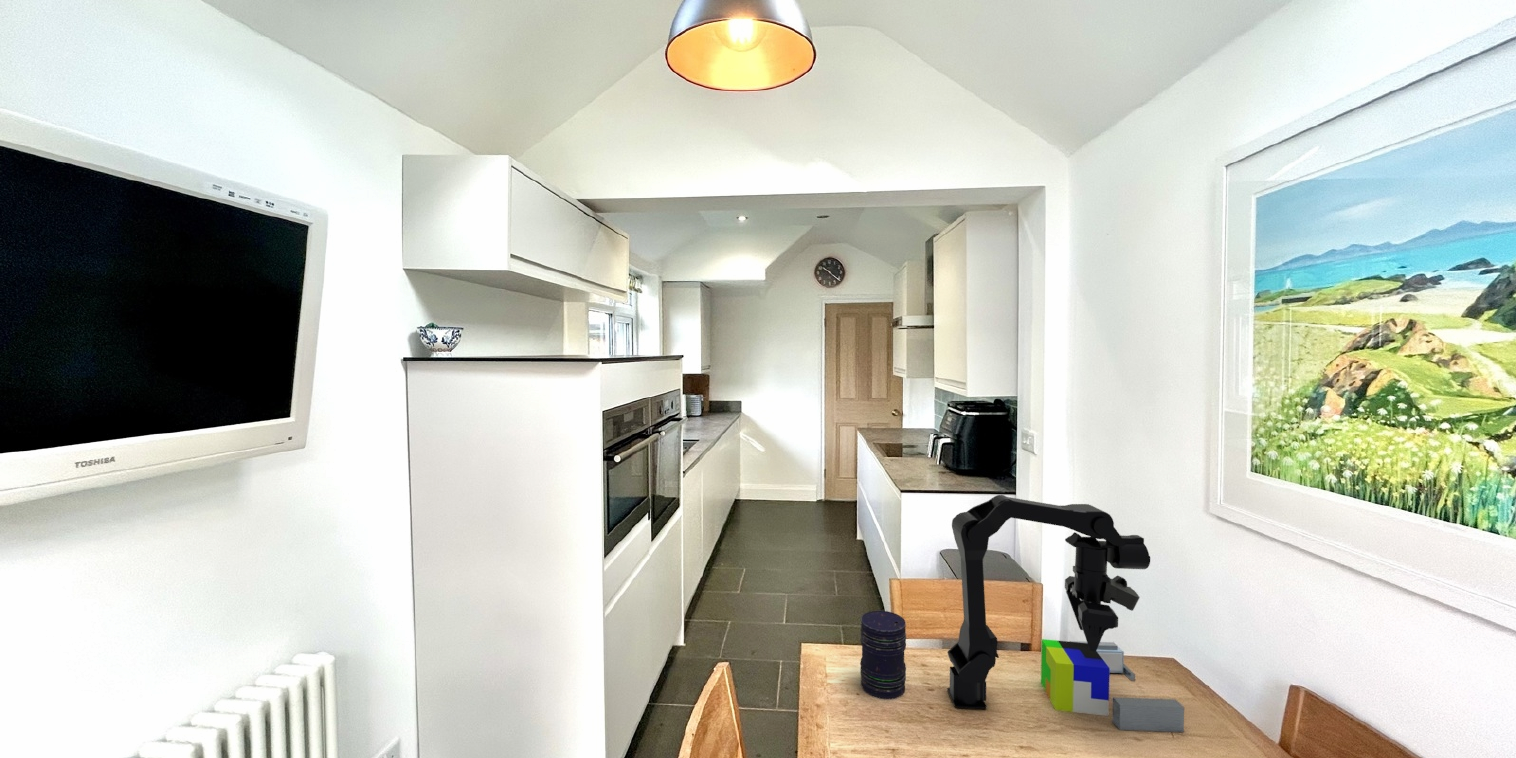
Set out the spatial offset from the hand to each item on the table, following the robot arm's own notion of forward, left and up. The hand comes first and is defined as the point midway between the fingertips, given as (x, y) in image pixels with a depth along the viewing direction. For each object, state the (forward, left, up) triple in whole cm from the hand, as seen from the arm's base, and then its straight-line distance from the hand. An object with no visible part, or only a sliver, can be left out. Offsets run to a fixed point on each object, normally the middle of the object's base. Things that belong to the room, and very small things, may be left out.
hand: (1087, 639), depth 117 cm
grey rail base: (+8, +4, -14) cm, 16 cm away
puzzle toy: (-2, +2, -14) cm, 14 cm away
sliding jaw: (+8, +13, -14) cm, 20 cm away
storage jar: (-42, +4, -14) cm, 44 cm away
